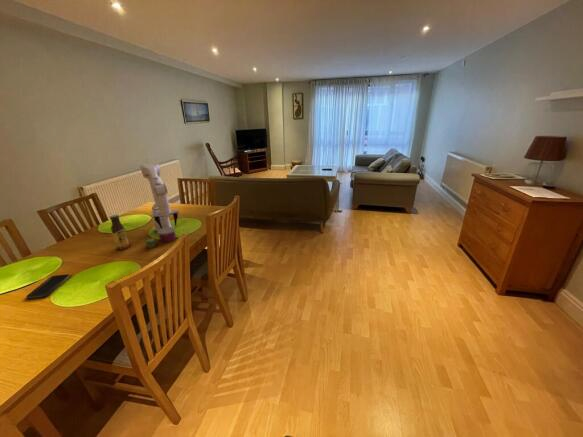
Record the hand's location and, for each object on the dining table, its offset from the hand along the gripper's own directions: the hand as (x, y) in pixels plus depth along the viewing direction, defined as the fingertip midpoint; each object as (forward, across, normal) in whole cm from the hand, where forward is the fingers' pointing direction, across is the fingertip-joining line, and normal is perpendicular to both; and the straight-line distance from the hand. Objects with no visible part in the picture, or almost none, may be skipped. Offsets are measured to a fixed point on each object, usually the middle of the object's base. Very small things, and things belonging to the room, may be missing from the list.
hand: (168, 226), depth 143 cm
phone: (+10, -51, -21) cm, 56 cm away
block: (+10, -11, -1) cm, 15 cm away
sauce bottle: (+10, -26, +6) cm, 28 cm away
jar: (+10, -2, +4) cm, 11 cm away
